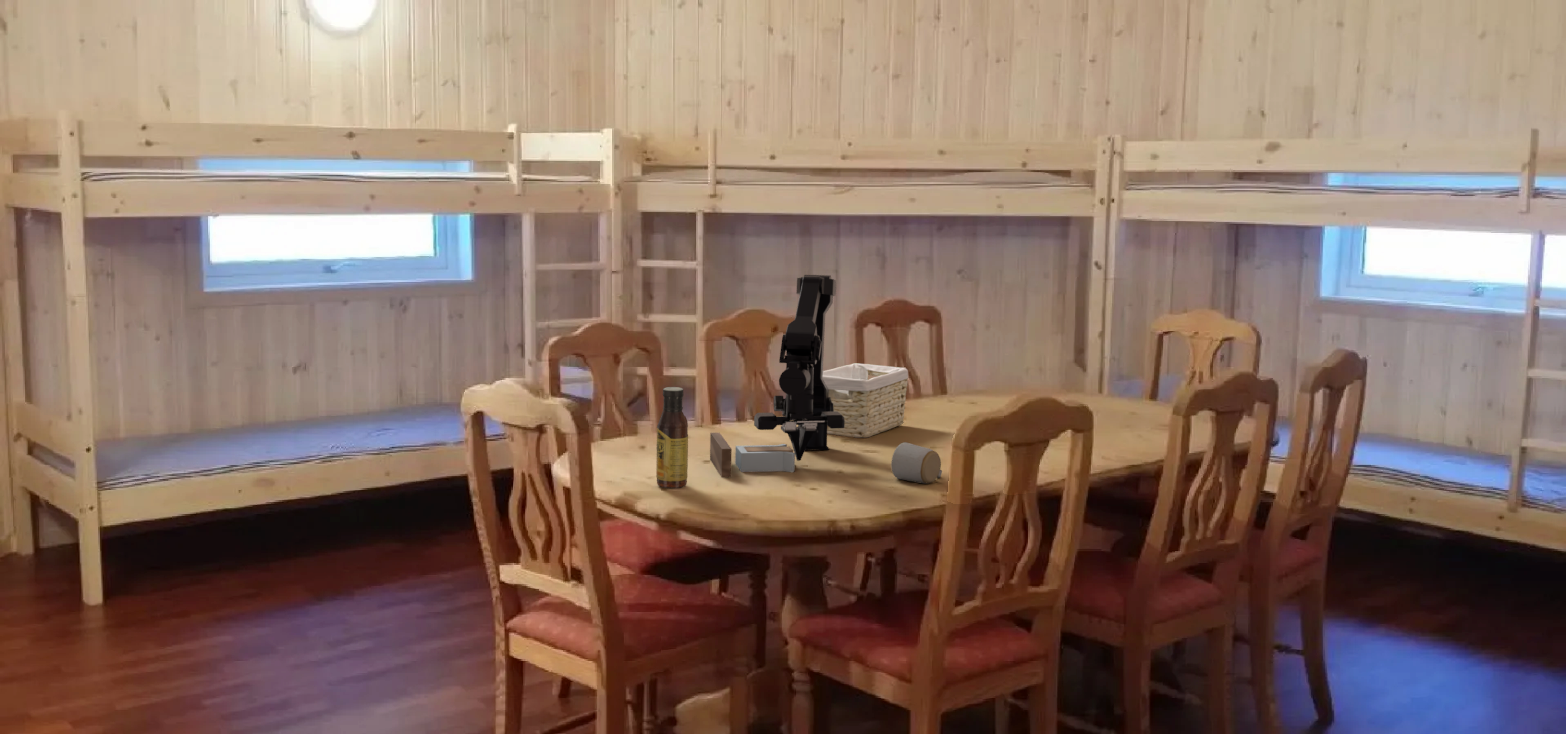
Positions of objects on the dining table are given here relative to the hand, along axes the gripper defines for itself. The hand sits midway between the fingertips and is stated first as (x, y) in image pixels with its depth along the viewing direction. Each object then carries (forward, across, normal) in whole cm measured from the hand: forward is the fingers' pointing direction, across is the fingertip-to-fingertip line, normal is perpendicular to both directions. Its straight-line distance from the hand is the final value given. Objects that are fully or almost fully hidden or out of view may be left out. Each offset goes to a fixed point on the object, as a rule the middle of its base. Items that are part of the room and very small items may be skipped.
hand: (798, 460), depth 310 cm
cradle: (+1, +7, 0) cm, 8 cm away
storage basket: (+2, -24, -43) cm, 49 cm away
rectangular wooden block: (+1, +7, 0) cm, 7 cm away
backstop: (+1, +17, 0) cm, 17 cm away
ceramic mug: (+2, -22, +15) cm, 27 cm away
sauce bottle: (+2, +29, +16) cm, 33 cm away
